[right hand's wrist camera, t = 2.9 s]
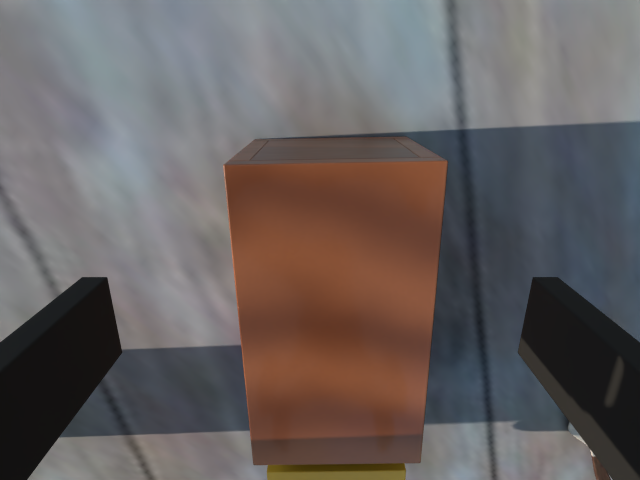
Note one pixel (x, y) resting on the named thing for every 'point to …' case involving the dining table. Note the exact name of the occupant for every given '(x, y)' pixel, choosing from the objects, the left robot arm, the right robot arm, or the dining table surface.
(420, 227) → the cabinet
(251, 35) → the dining table surface
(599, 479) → the fork
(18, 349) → the right robot arm
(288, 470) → the drawer
